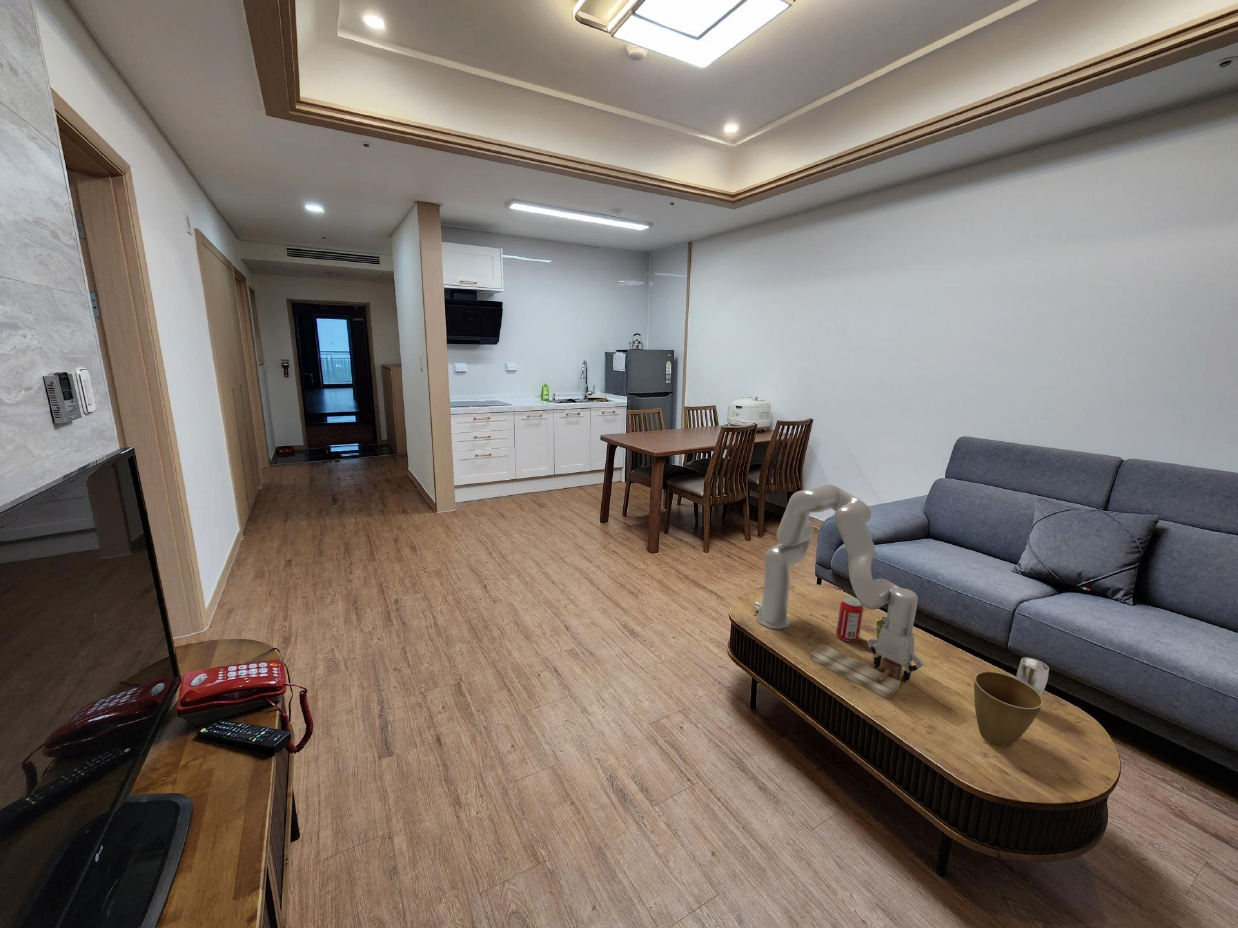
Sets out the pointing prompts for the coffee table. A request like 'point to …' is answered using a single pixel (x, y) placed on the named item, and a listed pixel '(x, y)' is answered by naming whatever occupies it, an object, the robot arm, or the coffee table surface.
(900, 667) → the cube with stick handle
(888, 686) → the board
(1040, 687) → the beer glass
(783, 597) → the robot arm
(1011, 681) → the plant pot
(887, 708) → the coffee table surface
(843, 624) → the soda can
